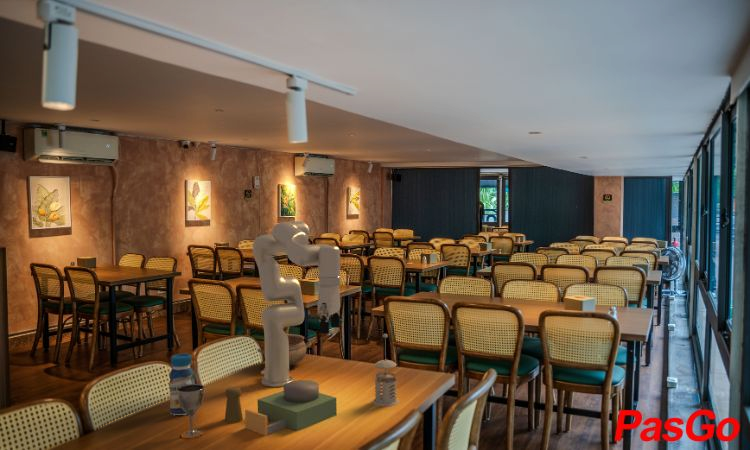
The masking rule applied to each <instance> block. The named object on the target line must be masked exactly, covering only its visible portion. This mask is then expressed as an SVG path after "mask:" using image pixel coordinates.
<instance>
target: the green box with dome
mask: <svg viewBox="0 0 750 450" xmlns="http://www.w3.org/2000/svg"><path fill="white" fill-rule="evenodd" d="M319 385H320V384H319V383H318V382H317V381H313V380H308V379H307V380H305V379H303V380H301V379H300V380H293V381H292V382H289V383H286V384H285V385H284V386H283V390H281V391H278V392H275V393H271V394H269V395H266V396H263V397H260V398H257V411H253V410H251V409H249V408H247V409H245V411H244V413H245V414H244V415H245V417H244V419H245V422H244V423H245V429H247V430H248V431H249V430H250V431H253V432H255V433H257V434H260V435H262V436H264V437H266V436H268V435H270V434H273V433H276V432H278V431H281V430H283V429H285V428H287V429H288V428H289V429H291V430H294V431H297V432H299V431H301V430H304V429H305V428H309V427H311V426H313V425H315V424H318V423H320V422H322V421H325V420H327V419H331V418H333V417H335V416H337V414H338V413H337V411H338V410H337V397H335V396H332V395H329V394H325V393H322V392H319V391H320V389H319V387H320V386H319ZM268 422H272V423H270V424H269V425H268Z"/></svg>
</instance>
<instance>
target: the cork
mask: <svg viewBox="0 0 750 450" xmlns="http://www.w3.org/2000/svg"><path fill="white" fill-rule="evenodd" d="M224 393H225V397H226V405H225V416H224V422H225V421H226V422H225V423H227V422H228V423H227V424H237V423H240V422H243V420H244V417H243V413H242V410H243V409H242V403H241V399H240V397H241V394H242V390H241V388H240V387H238V386H229V387H228V388H226V389H225V392H224Z"/></svg>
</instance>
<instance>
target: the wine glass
mask: <svg viewBox="0 0 750 450" xmlns="http://www.w3.org/2000/svg"><path fill="white" fill-rule="evenodd" d="M204 394H205V386H204V384H200V383H194V384H188V385H183V386H181V387H179V388H178V400H179V404H180V407H181V408H182V409H183V410H184V411H185V412H186V413H187V414H188V419H189V425H190V427H189V429H190V430H187V431H188V432H186V431H185V432H186V433H185V434H186V435H188V436H191V435H197V434H200V431H197V430H198V429H194V418H195V414H196V413H197V412H198V411H199V409H200V408H201V406H202V405H203V401H204V396H205V395H204Z"/></svg>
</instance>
